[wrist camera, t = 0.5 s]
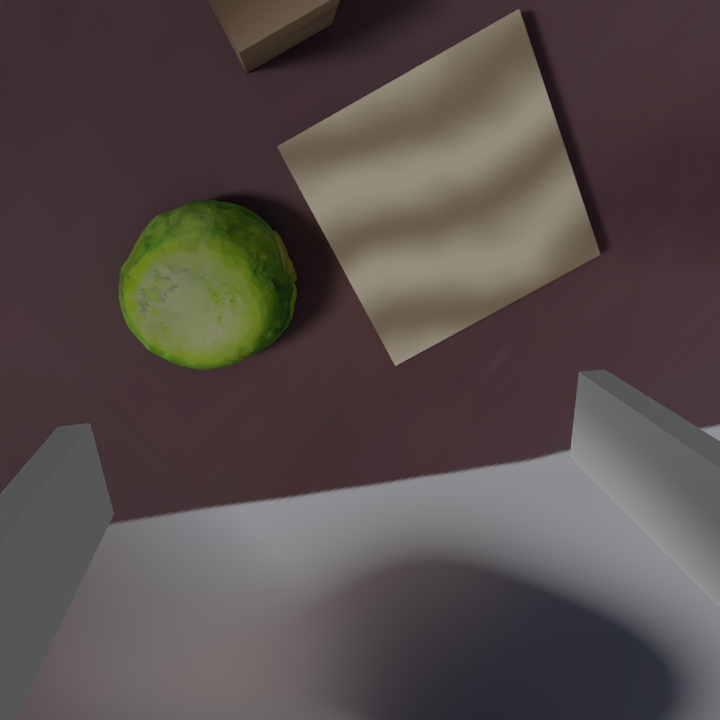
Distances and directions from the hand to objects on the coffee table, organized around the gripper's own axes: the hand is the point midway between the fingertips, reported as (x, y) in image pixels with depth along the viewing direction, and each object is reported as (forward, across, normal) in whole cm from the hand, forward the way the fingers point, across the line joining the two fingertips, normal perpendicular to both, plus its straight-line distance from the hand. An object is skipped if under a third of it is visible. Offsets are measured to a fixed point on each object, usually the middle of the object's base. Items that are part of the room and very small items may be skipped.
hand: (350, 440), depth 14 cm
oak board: (+24, +10, +4) cm, 27 cm away
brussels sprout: (+25, -7, 0) cm, 26 cm away
